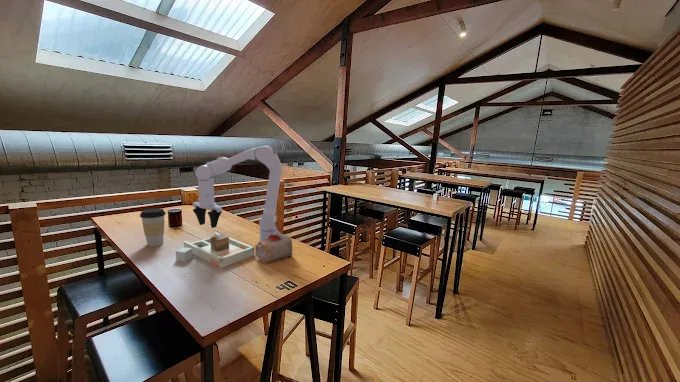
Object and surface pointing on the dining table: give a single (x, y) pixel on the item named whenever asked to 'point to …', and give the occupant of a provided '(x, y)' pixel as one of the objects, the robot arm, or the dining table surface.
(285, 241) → the grey-brown rough block
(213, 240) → the walnut block
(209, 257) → the tray
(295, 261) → the dining table surface
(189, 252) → the grey block
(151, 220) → the coffee cup
